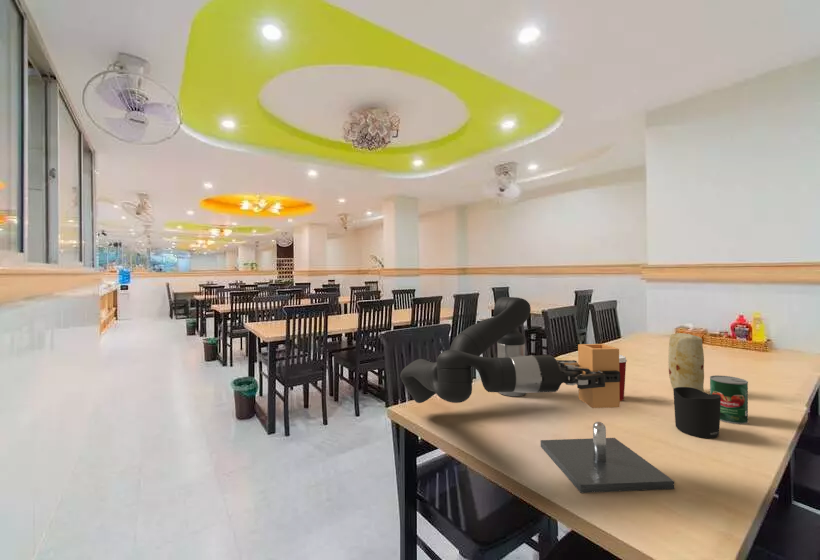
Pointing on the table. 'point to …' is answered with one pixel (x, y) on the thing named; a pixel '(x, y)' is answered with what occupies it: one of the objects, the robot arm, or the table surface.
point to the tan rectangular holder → (600, 360)
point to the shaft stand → (604, 464)
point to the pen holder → (697, 412)
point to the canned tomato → (731, 398)
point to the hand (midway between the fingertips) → (609, 372)
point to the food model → (686, 361)
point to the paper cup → (622, 375)
